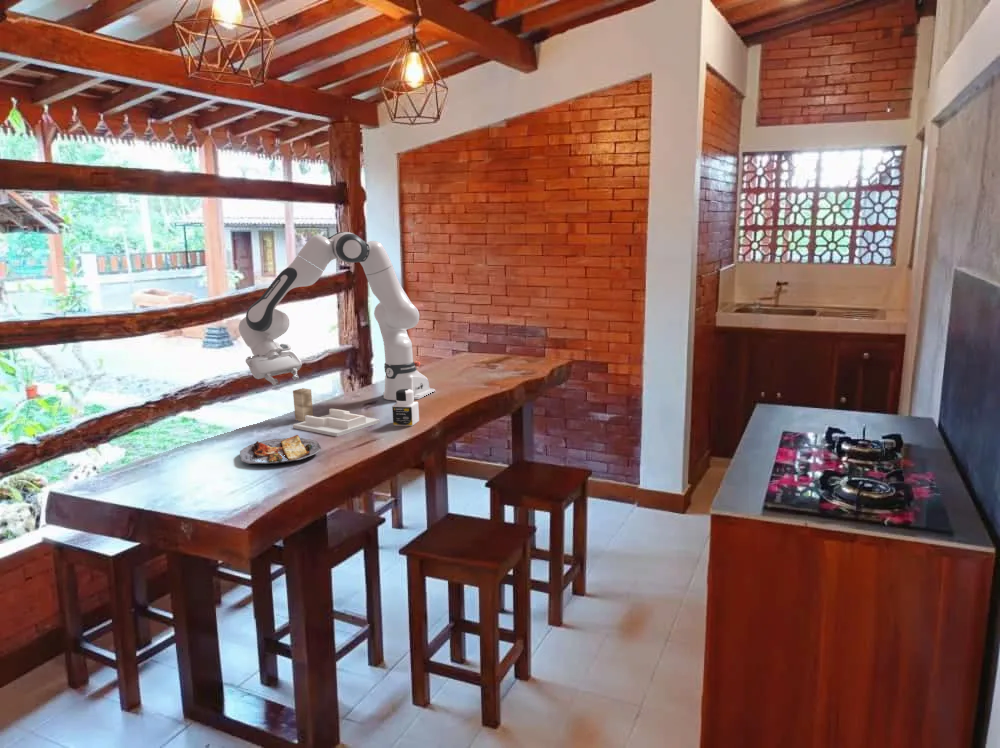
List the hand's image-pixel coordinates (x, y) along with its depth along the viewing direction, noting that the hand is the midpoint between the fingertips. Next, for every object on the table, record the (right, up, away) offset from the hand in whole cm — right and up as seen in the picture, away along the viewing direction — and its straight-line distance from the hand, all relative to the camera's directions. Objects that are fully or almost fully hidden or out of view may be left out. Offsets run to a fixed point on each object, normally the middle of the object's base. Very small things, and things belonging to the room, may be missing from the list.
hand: (286, 381), depth 270 cm
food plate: (+11, -23, -44) cm, 51 cm away
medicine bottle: (+45, -15, -12) cm, 49 cm away
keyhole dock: (+21, -15, -12) cm, 28 cm away
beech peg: (+7, -14, -2) cm, 16 cm away
